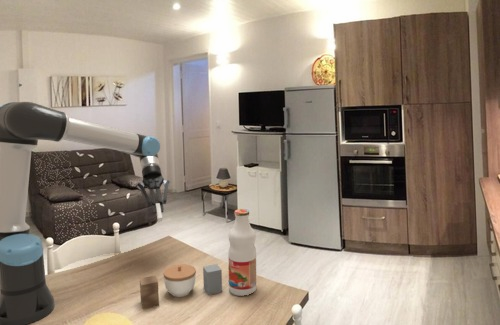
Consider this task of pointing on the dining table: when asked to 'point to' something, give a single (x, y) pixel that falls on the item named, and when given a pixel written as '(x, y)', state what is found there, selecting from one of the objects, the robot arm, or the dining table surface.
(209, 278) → the grey block
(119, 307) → the dining table surface
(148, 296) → the walnut block
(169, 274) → the lidded jar
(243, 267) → the fruit juice
